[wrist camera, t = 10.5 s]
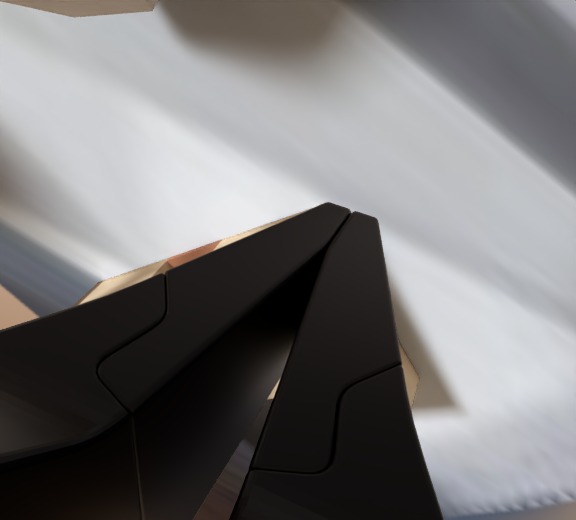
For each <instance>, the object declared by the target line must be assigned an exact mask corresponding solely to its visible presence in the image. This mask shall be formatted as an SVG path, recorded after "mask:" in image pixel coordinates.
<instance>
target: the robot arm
mask: <svg viewBox="0 0 576 520" xmlns="http://www.w3.org/2000/svg"><path fill="white" fill-rule="evenodd" d="M280 377H281V378H280ZM279 379H280V381H279ZM278 381H279V384H278V387H277V390H276V392H275V395H274V398H273V401H272V404H271V406H270V409H269V412H268V415H267V418H266V421H265V423H264V426H263V429H262V432H261V435H260V438H259V440H258V443H257V446H256V449H255V452H254V455H253V457H252V460H251V463H250V466H249V470H248V473H247V475H246V477H245V480H244V483H243V486H242V488H241V491H240V494H239V496H238V499H237V501H236V504H235V506H234V509H233V511H232V514H231V516H230V518H229V520H444V518H443V515H442V512H441V509H440V506H439V503H438V500H437V497H436V494H435V490H434V487H433V484H432V481H431V478H430V475H429V472H428V469H427V466H426V463H425V459H424V456H423V452H422V449H421V446H420V442H419V439H418V435H417V432H416V428H415V425H414V421H413V416H412V411H411V407H410V402H409V397H408V392H407V387H406V381H405V375H404V370H403V368H402V359H401V353H400V347H399V341H398V335H397V330H396V324H395V318H394V312H393V306H392V300H391V294H390V288H389V282H388V276H387V270H386V264H385V258H384V252H383V246H382V241H381V235H380V229H379V223H378V220H377V219H376V218H375V217H372V216H369V215H366V214H363V213H360V212H356V211H355V212H352V213H351V211H350V209H348V208H345V207H342V206H339V205H336V204H333V203H330V202H327V203H324V204H321V205H319V206H317V207H314V208H312V209H310V210H307V211H305V212H303V213H300V214H298V215H296V216H293V217H291V218H289V219H286V220H284V221H282V222H279V223H277V224H275V225H272V226H270V227H268V228H265V229H263V230H260V231H258V232H256V233H253V234H251V235H249V236H246V237H244V238H242V239H239V240H237V241H235V242H232V243H230V244H228V245H225V246H223V247H221V248H218V249H216V250H214V251H211V252H209V253H207V254H204V255H202V256H200V257H197V258H195V259H193V260H190V261H188V262H186V263H183V264H181V265H179V266H176V267H174V268H172V269H169V270H167V271H166V272H165V274H164V273H159V274H157V275H155V276H152V277H150V278H148V279H145V280H143V281H141V282H138V283H136V284H133V285H131V286H128V287H126V288H123V289H120V290H118V291H115V292H113V293H110V294H108V295H105V296H102V297H99V298H97V299H94V300H91V301H88V302H85V303H82V304H79V305H76V306H73V307H70V308H68V309H64V310H61V311H58V312H55V313H52V314H49V315H46V316H43V317H40V318H37V319H34V320H31V321H27V322H24V323H21V324H18V325H15V326H12V327H9V328H6V329H2V330H0V520H193V519H194V517H195V516H196V514H197V512H198V511H199V509H200V507H201V506H202V504H203V503H204V501H205V499H206V498H207V496H208V494H209V493H210V491H211V490H212V488H213V486H214V485H215V483H216V481H217V480H218V478H219V477H220V475H221V473H222V472H223V470H224V468H225V467H226V465H227V464H228V462H229V460H230V459H231V457H232V455H233V454H234V452H235V451H236V449H237V447H238V446H239V444H240V442H241V441H242V439H243V438H244V436H245V434H246V433H247V431H248V429H249V428H250V426H251V425H252V423H253V421H254V420H255V418H256V416H257V415H258V413H259V412H260V410H261V408H262V407H263V405H264V403H265V402H266V400H267V399H268V397H269V395H270V394H271V392H272V390H273V389H274V387H275V386H276V384H277V382H278Z"/></svg>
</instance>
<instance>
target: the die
mask: <svg viewBox="0 0 576 520" xmlns="http://www.w3.org/2000/svg"><path fill="white" fill-rule="evenodd" d="M0 1H2V2H7V3H11V4H16V5H20V6H25V7H30V8H34V9H39V10H43V11H48V12H52V13H57V14H61V15H66V16H70V17H85V16H97V15H109V14H122V13H134V12H147V11H153V9H154V7H155V5H156V4H157V2H158V0H0Z"/></svg>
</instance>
